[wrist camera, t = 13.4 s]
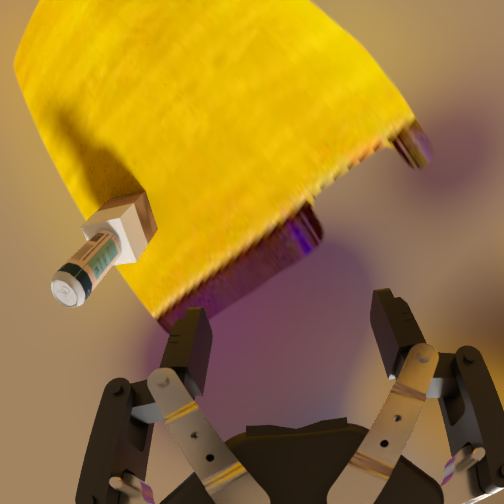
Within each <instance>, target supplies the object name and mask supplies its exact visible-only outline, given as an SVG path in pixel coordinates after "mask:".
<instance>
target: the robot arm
mask: <svg viewBox="0 0 504 504" xmlns="http://www.w3.org/2000/svg"><path fill="white" fill-rule="evenodd" d="M370 322H371V327H372V330H373V332H374V336H375V339H376V342H377V344H378V348H379V351H380V354H381V357H382V360H383V364H384V367H385V370H386V374H387V377H388V379H394V378H396V382H395V384H394V386H393V387H392V389H391V391H390V393H389V395H388V397H387V399H386V401H385V403H384V405H383V407H382V409H381V410H380V413H379V414H378V416H377V418H376V420H375V421H374V423H373V425H372V426H371V428H370V430H369V429H367V428H365V427H363V426H359V425H356V424H350V423H347V418H346V417H345V418H339V419H331V420H324V421H320V422H317V423H314V424H311V425H308V426H305V427H302V428H298V429H293V428H286V427H279V426H273V425H261V426H246V432H244V433H241V434H238V435H236V436H233V437H232V438H230V439H228V440H227V441H226V442H223V440H222V439H221V438H220V436H219V435H218V434H217V432H216V431H215V430H214V429H213V427H212V426H211V424H210V423H209V421H208V420H207V419H206V417H205V416H204V414H203V413H202V411H201V410H200V409H199V407H198V406H197V405H196V403H195V402H194V401H195V396H203V392H204V387H205V381H206V374H207V369H208V363H209V358H210V352H211V346H212V340H213V335H212V329H211V326H210V323H209V320H208V317H207V314H206V311H205V309H204V307H196V308H188V309H187V311H186V314H185V318H184V319H178V320H177V322H176V323H175V324H174V325H173V326H172V329H171V332H170V337H169V338H168V344H167V345H166V348H165V351H164V354H163V358H162V361H161V365H160V367H159V369H157V370H155V371H154V372H152V373H151V374H150V376H149V377H148V379H147V380H144V381H140V382H136V383H131V384H130V383H129V381H128V380H126V379H125V378H115V379H113V380H112V381H110V382H109V383H108V384H107V385H106V387H105V389H104V392H103V395H102V399H101V401H100V405H99V408H98V411H97V414H96V418H95V421H94V425H93V428H92V432H91V435H90V439H89V442H88V446H87V450H86V454H85V458H84V462H83V466H82V470H81V474H80V479H79V483H78V488H77V493H76V498H75V502H76V504H155V502H154V499H153V491H152V489H151V487H150V486H149V485H148V484H147V483H145V477H146V470H147V463H148V456H149V450H150V445H151V439H152V433H153V427H154V422H159V421H163V420H164V422H165V424H166V426H167V427H168V429H169V431H170V433H171V434H172V436H173V438H174V439H175V441H176V443H177V445H178V446H179V448H180V449H181V451H182V453H183V454H184V456H185V457H186V459H187V461H188V462H189V464H190V465H191V467H192V468H193V470H194V472H193V473H192V474H191V475H190V476H189V477H188V478H187V479H186V480H185V481H184V482H183V483H181V485H179V486H178V487H177V488H176V489H175V490H174V491H173V492H171V493H170V494H169V495H168V496H167V497H166V498H165V499H164V500H162V501H161V503H160V504H473V503H475V502H477V501H480V500H482V499H484V498H486V497H488V496H490V495H492V494H494V493H496V492H498V491H500V490H502V489H504V411H503V408H502V405H501V402H500V399H499V397H498V394H497V391H496V389H495V386H494V383H493V381H492V378H491V376H490V374H489V371H488V369H487V367H486V364H485V362H484V360H483V357H482V355H481V353H480V352H479V351H478V350H477V349H476V348H474V347H472V346H463V347H461V348H459V349H458V350H457V352H456V354H452V353H440V352H437V350H436V349H435V348H434V347H433V346H432V345H429V344H427V343H426V341H425V339H424V337H423V335H422V332H421V330H420V328H419V326H418V324H417V322H416V320H415V318H414V316H413V314H412V312H411V310H410V307H409V306H408V304H407V303H406V302H405V301H404V300H403V299H402V298H401V297H397V298H394V296H393V294H392V292H391V290H390V289H389V288H385V289H378V290H374V291H373V296H372V304H371V310H370ZM426 397H432V398H438V401H439V405H440V408H441V412H442V416H443V420H444V424H445V428H446V432H447V437H448V441H449V446H450V451H451V456H452V458H450V459H449V460H448V462H447V463H446V465H445V468H444V478H443V481H442V483H441V485H439V484H438V483H437V481H436V480H434V479H433V478H432V477H430V476H429V475H428V474H426V473H425V472H424V471H422V470H421V469H419V468H418V467H417V466H416V465H414V464H413V463H412V462H410V461H409V460H407V459H406V458H405V457H404V456H403V455H401V453H402V451H403V450H404V448H405V446H406V444H407V441H408V439H409V437H410V435H411V433H412V431H413V429H414V427H415V424H416V422H417V420H418V417H419V415H420V413H421V410H422V408H423V405H424V403H425V400H426Z"/></svg>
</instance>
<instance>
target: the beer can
mask: <svg viewBox="0 0 504 504" xmlns="http://www.w3.org/2000/svg"><path fill="white" fill-rule="evenodd" d="M121 252H122V246H121V243H120V240H119V239H118V237H117V236H116V235H115V234H114V233H112V232H110V231H108V230H100V231H98V232H96V233H95V234H94V235H93V236H92V237H91V238H90V239H89V240H88V241H87V242H86V243H85V244H84V245H83V246H82V247H81V248H80V249H79V250H78V251H77V252H76V253H75V254H74V255H73V256H72V257H71V258H70V259H69V260H68V261H67V262H66V263H65V264H64V265H63V266H62V267H61V268H60V269H59V270H58V271H57V272H56V273H55V274H54V276H53V279H52V283H51V291H52V293H53V295H54V297H55V299H56V300H57V301H58V302H60V303H61V304H62V305H63V306H65V307H68V308H74V307H76V306H80V305H82V304H83V303H84V302H85V300H86V299H87V298H88V296H89V295H90V293H91V292H92V291H93V290H94V288H95V287H96V286H97V284H98V283H99V282H100V280H101V279H102V278H103V277H104V275H105V274H106V273H107V272H108V270H109V269H110V268H111V266H112V265H113V264H114V263H115V262H116V260H117V259H118V258H119V257H120V255H121Z"/></svg>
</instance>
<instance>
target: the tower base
mask: <svg viewBox="0 0 504 504" xmlns="http://www.w3.org/2000/svg"><path fill="white" fill-rule="evenodd" d="M131 203H134V205H135V209H136V211H137V214H138V217H139V220H140V223H141V226H142V229H143V232H144V235H145V237H146V240H147V243H149V242H150V240H151V239H152V237H153V236H154V234H155V233H156V231H157V230H158V228H157V225H156V222H155V219H154V216H153V213H152V210H151V207H150V204H149V200H148V197H147V194H146V191H142V192H138V193H134V194H129V195H125V196H121V197H117V198H113V199H110V200H109V201H108V202H106V203H105V204H104V205H103V206H102V207H101V208H100V209H99V210H98V211H100V210H105V209H109V208H113V207H118V206H122V205H127V204H131Z"/></svg>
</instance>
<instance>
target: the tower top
mask: <svg viewBox="0 0 504 504" xmlns="http://www.w3.org/2000/svg"><path fill="white" fill-rule="evenodd" d="M81 228H82V230H83V233H84V235H85V237H86V240H87V241H88V240H89V239H90V238H91V237H92V236H93V235H94V234H95V233H96V232H98V231H100V230H108V231H110V232H112V233H114V234H115V235H116V236H117V237H118V239H119V240H120V243H121V246H122V252H121V255H120V257H119V258H118V259H117V260H116V262H115V263H114V264H113V265H118V264H126V263H134V262H137V261H138V259H139V258H140V256H141V254H142V253H143V251H144V250H145V248H146V246H147V245H148V243H147V240H146V237H145V235H144V232H143V229H142V226H141V223H140V220H139V217H138V214H137V211H136V209H135V205H134V203H131V204H127V205H122V206H118V207H113V208H109V209H105V210H100V211H97V212H95V213H94V214H93V215H92V216H91V217H90V218H89V219H88V220H87V221H86V222H85V223H84V224H83V225H82V226H81Z"/></svg>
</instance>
